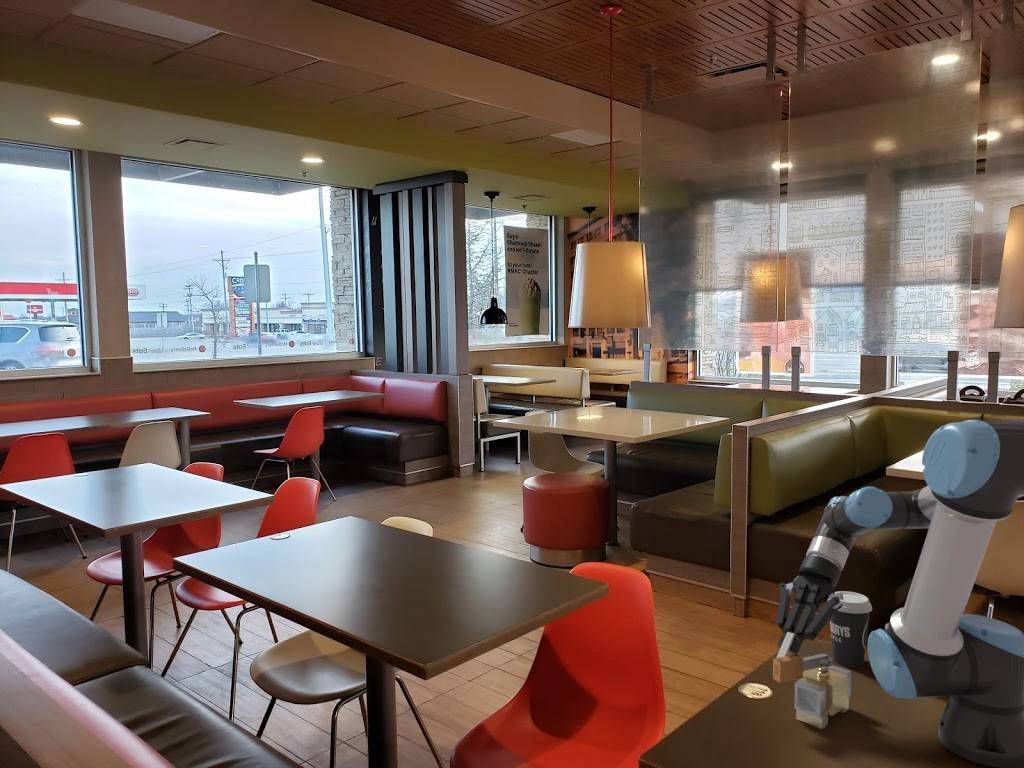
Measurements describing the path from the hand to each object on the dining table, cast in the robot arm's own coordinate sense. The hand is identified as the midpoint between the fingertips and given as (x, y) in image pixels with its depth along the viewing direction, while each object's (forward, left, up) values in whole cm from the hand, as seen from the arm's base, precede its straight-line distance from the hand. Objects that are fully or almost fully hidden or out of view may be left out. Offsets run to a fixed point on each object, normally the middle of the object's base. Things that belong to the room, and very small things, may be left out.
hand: (780, 665), depth 152 cm
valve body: (-2, -9, -11) cm, 14 cm away
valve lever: (-2, -4, -2) cm, 5 cm away
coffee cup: (+16, -32, -11) cm, 37 cm away
